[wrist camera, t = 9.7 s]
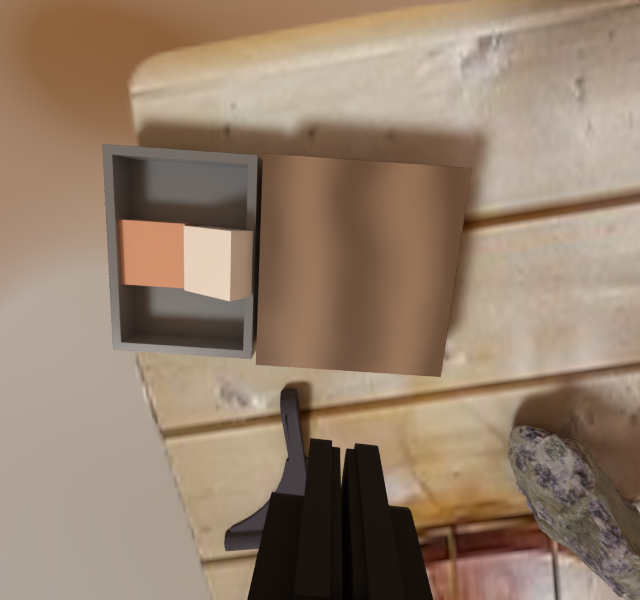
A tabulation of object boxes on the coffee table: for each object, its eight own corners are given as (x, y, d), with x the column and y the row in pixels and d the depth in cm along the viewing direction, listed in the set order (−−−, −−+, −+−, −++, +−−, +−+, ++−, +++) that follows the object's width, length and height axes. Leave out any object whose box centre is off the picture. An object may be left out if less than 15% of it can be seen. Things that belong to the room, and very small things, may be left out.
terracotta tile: (119, 219, 26) (132, 219, 28) (121, 284, 27) (135, 279, 29) (184, 223, 27) (194, 223, 28) (185, 288, 28) (194, 283, 29)
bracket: (375, 377, 32) (380, 392, 30) (385, 528, 36) (390, 554, 33) (205, 391, 33) (194, 407, 30) (230, 539, 36) (222, 565, 33)
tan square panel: (450, 174, 28) (471, 168, 24) (425, 356, 31) (440, 376, 27) (271, 161, 28) (263, 153, 24) (264, 345, 31) (255, 364, 27)
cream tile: (253, 231, 26) (231, 231, 24) (251, 297, 27) (229, 301, 25) (206, 225, 28) (183, 225, 26) (206, 286, 29) (184, 290, 27)
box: (264, 161, 28) (257, 155, 25) (258, 345, 31) (251, 359, 28) (125, 151, 28) (102, 143, 25) (132, 336, 31) (113, 349, 28)
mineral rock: (497, 410, 32) (574, 496, 23) (629, 395, 32) (765, 476, 22) (502, 539, 35) (572, 665, 25) (623, 526, 35) (741, 650, 25)
